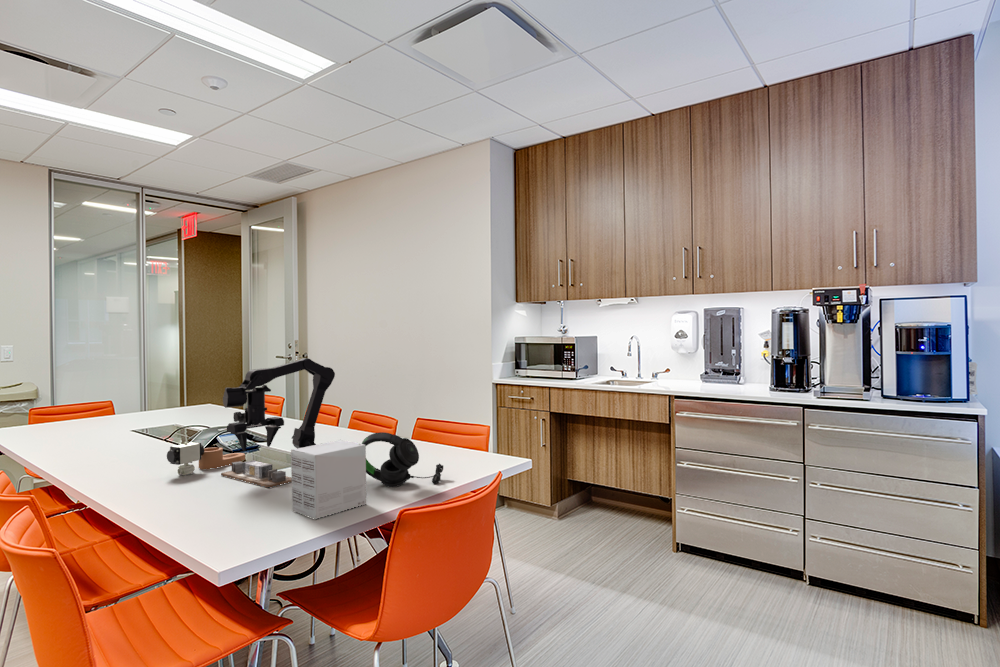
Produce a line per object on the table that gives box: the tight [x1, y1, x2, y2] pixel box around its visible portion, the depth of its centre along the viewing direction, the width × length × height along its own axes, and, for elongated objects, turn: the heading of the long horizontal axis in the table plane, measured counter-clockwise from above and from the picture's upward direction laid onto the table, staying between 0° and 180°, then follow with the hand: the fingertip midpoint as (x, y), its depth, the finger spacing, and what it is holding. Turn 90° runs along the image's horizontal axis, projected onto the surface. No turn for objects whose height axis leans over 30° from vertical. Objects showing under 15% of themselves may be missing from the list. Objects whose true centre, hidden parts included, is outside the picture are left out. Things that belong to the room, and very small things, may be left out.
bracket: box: [198, 446, 246, 470], centre depth 216 cm, size 18×8×7 cm, turn 151°
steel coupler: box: [242, 459, 273, 479], centre depth 193 cm, size 12×4×4 cm, turn 55°
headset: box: [361, 431, 444, 488], centre depth 184 cm, size 18×14×29 cm
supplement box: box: [290, 439, 367, 520], centre depth 159 cm, size 17×13×18 cm
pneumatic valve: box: [166, 441, 205, 476], centre depth 200 cm, size 6×12×12 cm, turn 155°
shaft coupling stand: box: [220, 461, 292, 488], centre depth 193 cm, size 30×10×4 cm, turn 55°
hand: (256, 448), depth 193 cm, fingers open, 9 cm apart
